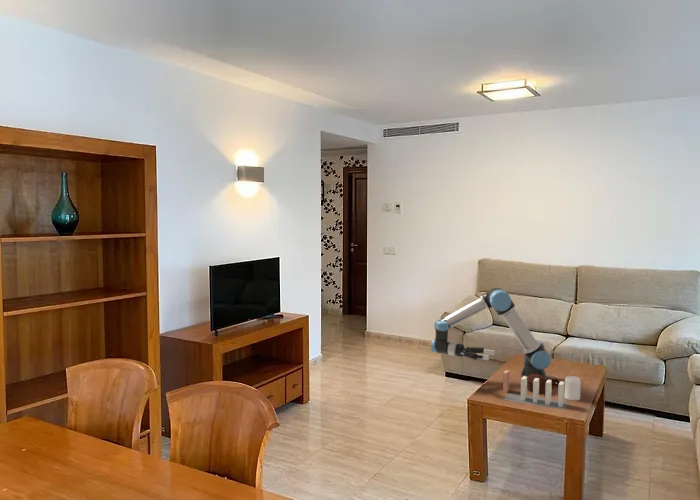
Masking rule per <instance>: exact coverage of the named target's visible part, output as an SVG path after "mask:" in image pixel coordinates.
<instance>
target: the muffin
mask: <svg viewBox="0 0 700 500" xmlns="http://www.w3.org/2000/svg"><path fill="white" fill-rule="evenodd" d="M535 378H539V394H544V393H545V392H546V381H547V380H548V379H547V378H546V379H545V377H543V376H542V375H539V374H532V375H529V376H528V377H527V392H528V391H529V393H533V380H534V379H535Z"/></svg>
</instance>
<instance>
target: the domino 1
mask: <svg viewBox="0 0 700 500" xmlns="http://www.w3.org/2000/svg"><path fill="white" fill-rule="evenodd" d="M502 378H503V379H502V380H503V381H502V387H503V388H502V393H505V394H508V393H509V391H510V370H507V369H506V370H504V371H503V374H502Z"/></svg>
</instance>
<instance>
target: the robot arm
mask: <svg viewBox="0 0 700 500" xmlns="http://www.w3.org/2000/svg"><path fill="white" fill-rule="evenodd" d="M515 306H516V305H515V303H514V301H513V300H512V299H511V295H510V294H509V293H508V292H507V291H505V290H504V289H502V288H501V287H493V288H491V289H490V290H488V291H486V292H484V293H483V294H481V295H479V298H477V299H476V300H473V301H472V302H470V303H468V304H467V305H464V306H463V307H461V308H459V309H457V310H456V311H454V312H451V314H449V315H447V316H444V318H443V317H442V319H437V320H436V321H435V322H434V330H435V338H434V339H432V340H431V342H430V351H432V352H433V353H437V354H443V355H449V356H451V357H452V356H456V357H460V358H462V357H465V358H469V359H471V360H474V361H475V360H476V361H477V360H483V361H489V360H490V359H489V358H490V356H495V352H496V350H492V349H487V348H485V347H484V346H483V347H475V346H473V347H472V346H467V347H465V345H464V344H462V343H457V342H452V341H448V340H449V337H448V336H449V330H450V329H452V328H453V327H456V326H458V324H461V323H462V322H465V321H466V320H468V319H470V318H471V317H473V316H476V315H477V314H479V313H481V312H482V311H484V310H486V309H487V310H489V309H492V308H493V310H494V311H495V313H496V314H497V315H498V316H499V317H502V318H503V321H504V322H505V323H506V324H507V326H508V327H509V329H510V330H511V333H513V335H514V336H515V338H516V339H517V340H518V342H519V344H520V345H521V346H522V348H523V360H524V361H523V368H522V369H521V371H520V379H521V378H522V377H523V376H526V377H528V376H529V375H532V374H539V375H542V376H543V377H545V378H546V379H547V373H546V371H545V370H546V369H548V367H549V366H550V365H551V362H552V357H551V354H550V353H549V352H548V351H547V350H546V348H545V344H544V342H543V341H537V340H536V338H535V337H534V336H533V334H532V332H531V331H530V330H529V328H528V327H527V325H526V323H525V322H524V320H522V318H521V316H520V315H519V314H518V311H516V309H515Z"/></svg>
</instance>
